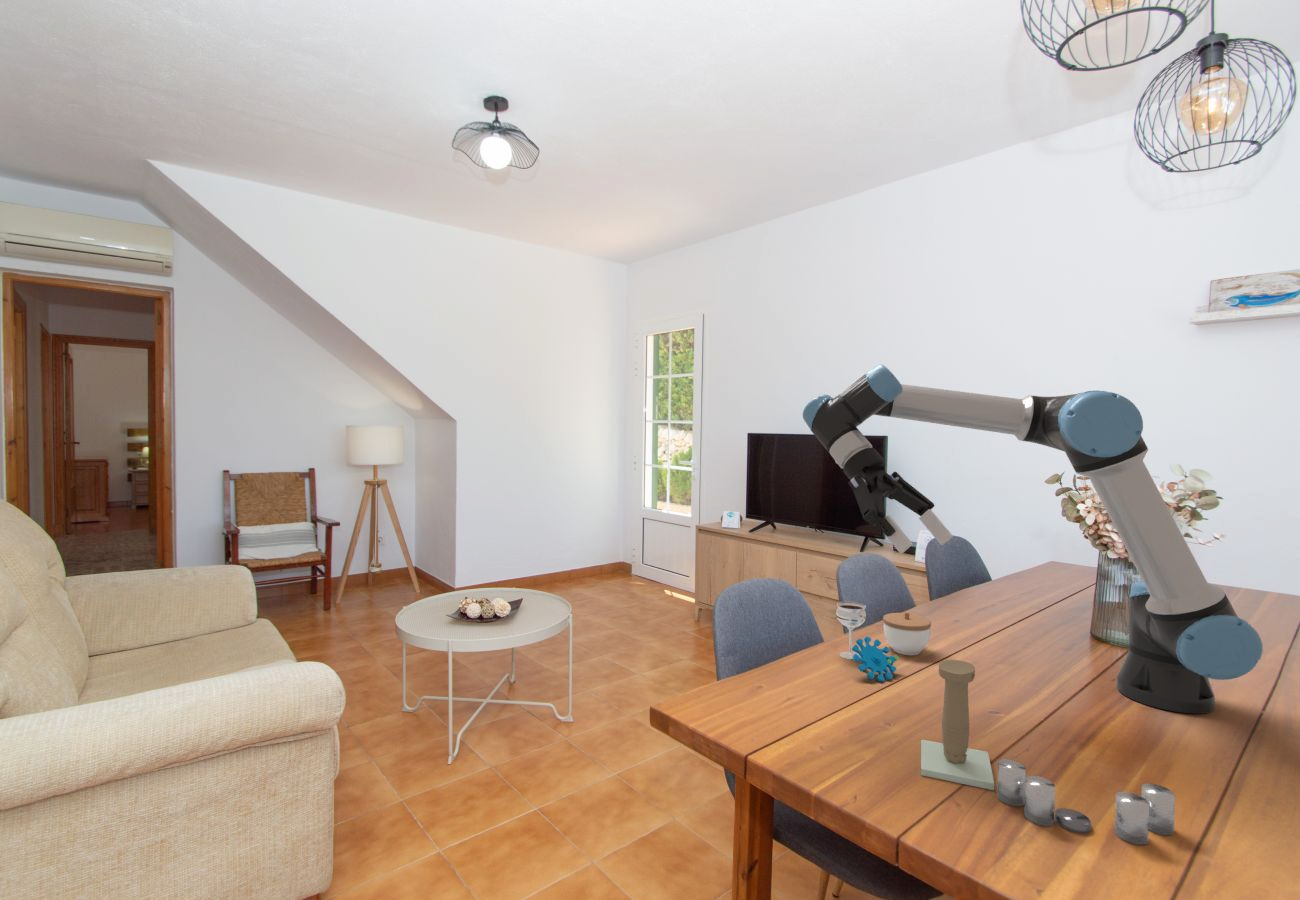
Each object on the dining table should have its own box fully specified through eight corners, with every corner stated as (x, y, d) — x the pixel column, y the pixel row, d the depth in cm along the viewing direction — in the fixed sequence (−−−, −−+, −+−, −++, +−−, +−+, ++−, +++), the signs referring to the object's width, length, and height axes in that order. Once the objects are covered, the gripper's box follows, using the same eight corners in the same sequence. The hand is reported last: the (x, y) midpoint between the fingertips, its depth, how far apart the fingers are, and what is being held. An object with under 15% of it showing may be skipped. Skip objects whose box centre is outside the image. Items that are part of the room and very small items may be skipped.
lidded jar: (881, 655, 148) (882, 616, 147) (883, 640, 158) (883, 604, 157) (931, 661, 144) (932, 621, 143) (929, 646, 154) (930, 608, 153)
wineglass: (850, 663, 143) (851, 611, 142) (829, 653, 149) (829, 603, 148) (871, 658, 146) (872, 607, 145) (850, 648, 152) (850, 600, 151)
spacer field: (1168, 822, 85) (1169, 787, 85) (1190, 859, 78) (1192, 820, 78) (995, 787, 93) (996, 754, 93) (1001, 816, 86) (1002, 781, 86)
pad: (987, 757, 102) (987, 751, 102) (994, 790, 93) (994, 783, 92) (921, 745, 106) (921, 739, 106) (920, 775, 97) (920, 768, 97)
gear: (862, 678, 130) (849, 633, 137) (849, 689, 134) (836, 646, 141) (908, 680, 132) (893, 636, 139) (894, 692, 137) (879, 648, 143)
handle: (931, 761, 99) (933, 667, 98) (946, 746, 103) (948, 657, 103) (963, 773, 95) (965, 676, 95) (978, 757, 100) (980, 665, 99)
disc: (1083, 819, 86) (1083, 811, 86) (1095, 837, 82) (1095, 828, 82) (1050, 814, 87) (1050, 806, 87) (1061, 832, 83) (1061, 823, 83)
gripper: (882, 468, 134) (948, 549, 122) (806, 473, 119) (873, 565, 108) (905, 444, 130) (976, 525, 118) (829, 446, 115) (902, 539, 103)
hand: (927, 545), depth 113 cm, fingers open, 13 cm apart
